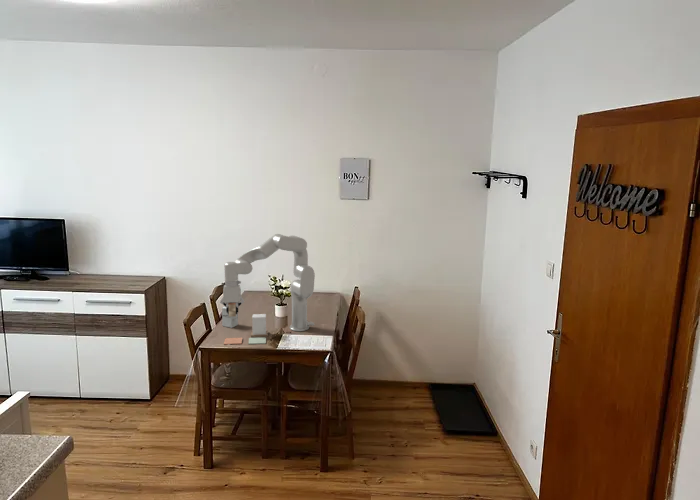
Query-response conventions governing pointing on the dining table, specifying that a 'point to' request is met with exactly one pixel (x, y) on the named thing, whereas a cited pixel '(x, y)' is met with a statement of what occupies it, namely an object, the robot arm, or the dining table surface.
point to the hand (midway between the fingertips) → (232, 313)
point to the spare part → (232, 309)
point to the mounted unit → (259, 326)
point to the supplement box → (229, 319)
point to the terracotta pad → (233, 341)
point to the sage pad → (257, 340)
